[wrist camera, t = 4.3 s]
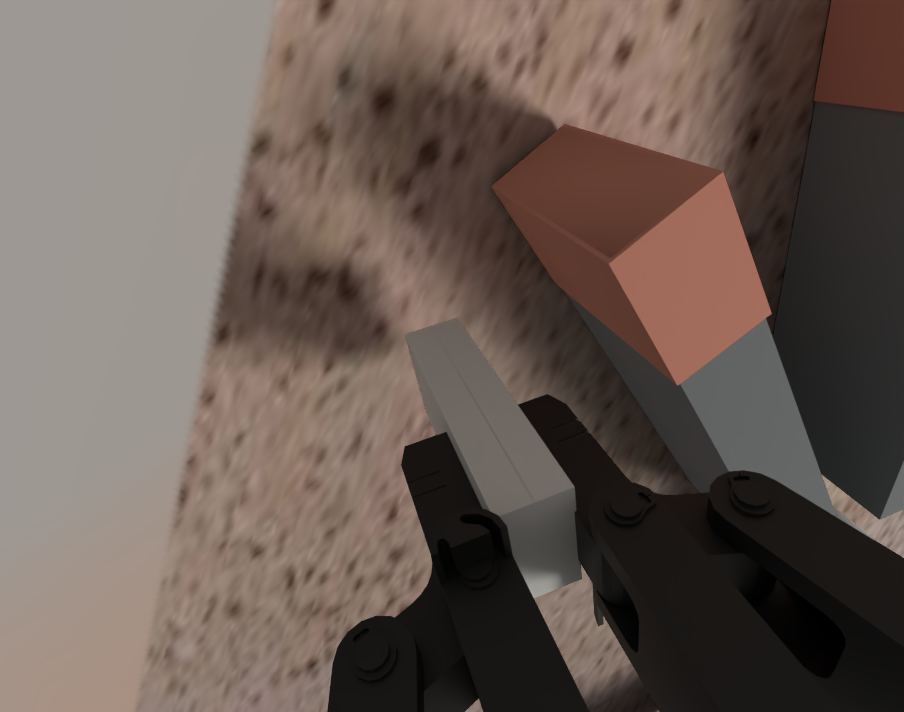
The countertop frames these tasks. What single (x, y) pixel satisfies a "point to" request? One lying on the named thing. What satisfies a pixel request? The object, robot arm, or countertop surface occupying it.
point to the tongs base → (852, 261)
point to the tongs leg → (667, 300)
